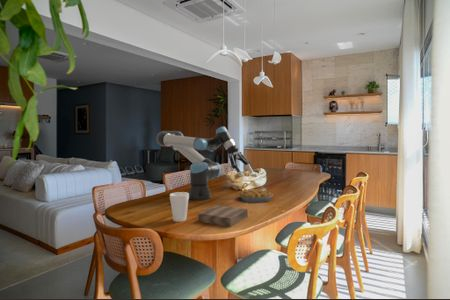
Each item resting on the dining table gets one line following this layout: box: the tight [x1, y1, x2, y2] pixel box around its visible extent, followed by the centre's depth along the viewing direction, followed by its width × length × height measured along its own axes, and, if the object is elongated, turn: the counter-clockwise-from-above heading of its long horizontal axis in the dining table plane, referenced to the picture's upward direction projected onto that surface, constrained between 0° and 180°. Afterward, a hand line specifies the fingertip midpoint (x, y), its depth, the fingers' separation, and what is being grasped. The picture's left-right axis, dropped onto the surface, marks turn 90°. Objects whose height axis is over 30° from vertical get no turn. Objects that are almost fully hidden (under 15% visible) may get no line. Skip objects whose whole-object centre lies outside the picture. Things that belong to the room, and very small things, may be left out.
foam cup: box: [169, 191, 190, 223], centre depth 145 cm, size 10×9×13 cm
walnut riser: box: [197, 205, 249, 228], centre depth 145 cm, size 18×18×4 cm
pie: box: [239, 189, 274, 203], centre depth 189 cm, size 22×22×5 cm
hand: (247, 174), depth 190 cm, fingers open, 13 cm apart
